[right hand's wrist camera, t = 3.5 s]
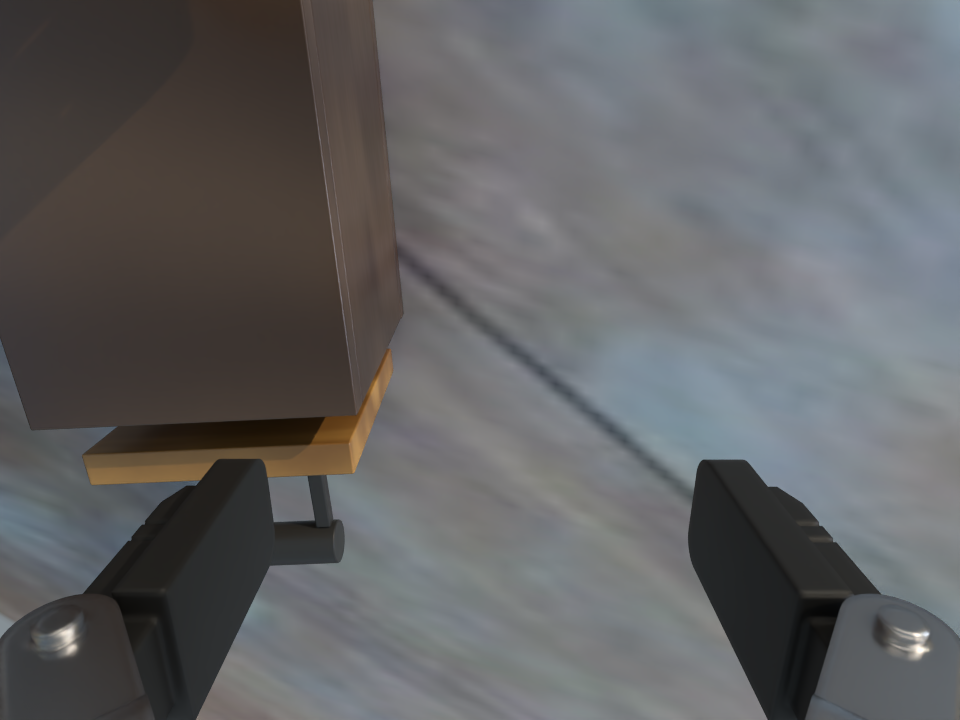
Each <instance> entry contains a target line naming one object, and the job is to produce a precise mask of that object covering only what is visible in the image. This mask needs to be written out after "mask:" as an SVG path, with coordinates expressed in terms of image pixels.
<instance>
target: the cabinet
mask: <svg viewBox="0 0 960 720" xmlns="http://www.w3.org/2000/svg"><path fill="white" fill-rule="evenodd" d="M402 316H403V304H402V294H401V284H400V274H399V263H398V253H397V243H396V233H395V223H394V213H393V203H392V193H391V183H390V173H389V163H388V153H387V142H386V132H385V122H384V112H383V102H382V92H381V82H380V72H379V62H378V52H377V42H376V32H375V22H374V11H373V1H372V0H0V339H1V341H2V344H3V347H4V350H5V353H6V356H7V359H8V362H9V365H10V368H11V371H12V374H13V377H14V380H15V383H16V386H17V389H18V392H19V395H20V398H21V401H22V404H23V407H24V410H25V413H26V416H27V419H28V422H29V425H30V428H31V430H49V429H71V428H92V427H114V426H136V425H157V424H179V423H200V422H222V421H244V420H265V419H287V418H308V417H330V416H352V415H357V414H358V412H359V410H360V407H361V405H362V402H363V401H364V398H365V396H366V394H367V392H368V390H369V387H370V385H371V383H372V381H373V378H374V376H375V374H376V372H377V370H378V367H379V365H380V363H381V361H382V358H383V356H384V354H385V352H386V350H387V347H388V345H389V343H390V341H391V339H392V336H393V334H394V332H395V330H396V327H397V325H398V323H399V321H400V318H402Z"/></svg>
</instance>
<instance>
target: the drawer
mask: <svg viewBox="0 0 960 720" xmlns="http://www.w3.org/2000/svg"><path fill="white" fill-rule="evenodd" d="M392 373H393V363H392V354H391V349H387V350H386V352H385V354H384V356H383V358H382V361H381V363H380V365H379V367H378V370H377V372H376V374H375V376H374V378H373V381H372V383H371V385H370V387H369V390H368V392H367V394H366V396H365V398H364V401H363V402H362V405H361V407H360V410H359V412H358V414H357V415H352V416H330V417H308V418H287V419H265V420H244V421H222V422H200V423H179V424H157V425H136V426H118V427H116V428H115V429H114V430H113V431H111V432H110V433H109V434H108V435H106V436H105V437H104V438H103V439H101V440H100V441H99V442H98V443H96V444H95V445H94V446H93V447H91V448H90V449H89V450H88V451H86V452H85V453H84V454H83V455H82V457H83V461H84V464H85V467H86V470H87V474H88V477H89V480H90V483H91V485H107V484H130V483H153V482H175V481H198V480H201V479H202V478H203V476H204V475H205V474H206V473H207V471H208V470H209V469H210V468H211V466H212V465H213V464H214V463H215V462H216V461H217V460H218V459H261V460H263V462H264V464H265V467H266V471H267V477H289V476H308V481H309V487H310V493H311V499H312V504H313V510H314V516H315V521H293V522H274V529H275V545H274V552H273V557H272V561H271V564H270V566H273V565H298V564H322V563H339V562H340V561H341V559H342V556H343V552H344V539H345V538H344V527H343V524H342V521H341V520H333V514H332V508H331V502H330V496H329V489H328V483H327V477H326V475H335V474H353V473H354V472H355V470H356V467H357V464H358V462H359V459H360V457H361V454H362V451H363V449H364V446H365V443H366V441H367V438H368V436H369V433H370V430H371V428H372V425H373V423H374V420H375V417H376V415H377V412H378V409H379V407H380V404H381V402H382V399H383V396H384V394H385V391H386V389H387V386H388V383H389V381H390V378H391V375H392Z"/></svg>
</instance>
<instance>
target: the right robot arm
mask: <svg viewBox="0 0 960 720" xmlns="http://www.w3.org/2000/svg"><path fill="white" fill-rule="evenodd" d="M274 545H275V529H274V522H273V514H272V507H271V500H270V492H269V485H268V478H267V471H266V467H265V464H264V462H263V460H261V459H218V460H217V461H216V462H215V463H214V464H213V465H212V466H211V468H210V469H209V470H208V471H207V473H206V474H205V475H204V476H203V478H202V479H201V480H200V481H199V483H198V484H197V485H196V486H186V487H184V488H182V489H181V490H179V491H178V492H176V493H175V494H173V495H172V496H170V497H168V498H167V499H165V500H164V501H162V502H161V503H160V504H159V505H158V507H157V508H156V509H155V510H154V511H153V512H152V514H151V515H150V516H149V517H148V518H147V519H146V521H145V525H141V526H140V528H139V529H138V530H137V531H136V532H135V533H134V535H133V536H132V540H131V541H128V542H127V543H126V544H125V545H124V546H123V547H122V549H121V550H120V551H119V552H118V553H117V555H116V556H115V557H114V558H113V559H112V560H111V562H110V563H109V564H108V565H107V566H106V567H105V569H104V570H103V571H102V572H101V573H100V574H99V576H98V577H97V578H96V579H95V580H94V581H93V583H92V584H91V585H90V586H89V587H88V588H87V590H86V591H85V592H84V593H83V594H80V595H73V596H69V597H65V598H62V599H59V600H55V601H53V602H50V603H48V604H45V605H43V606H41V607H39V608H37V609H35V610H33V611H32V612H30V613H29V614H27V615H25V616H24V617H22V618H21V619H20V620H18V621H17V622H16V623H14V624H13V625H12V626H11V627H10V628H9V629H8V630H7V631H6V632H5V633H4V634H3V635H2V637H1V638H0V720H196V718H197V716H198V714H199V712H200V710H201V707H202V705H203V703H204V701H205V699H206V697H207V695H208V693H209V691H210V689H211V687H212V685H213V683H214V680H215V678H216V676H217V674H218V672H219V670H220V668H221V666H222V664H223V662H224V660H225V658H226V656H227V654H228V651H229V649H230V647H231V645H232V643H233V641H234V639H235V637H236V635H237V633H238V631H239V629H240V627H241V624H242V622H243V620H244V618H245V616H246V614H247V612H248V610H249V608H250V606H251V604H252V602H253V600H254V597H255V595H256V593H257V591H258V589H259V587H260V585H261V583H262V581H263V579H264V577H265V575H266V573H267V570H268V568H269V566H270V564H271V561H272V557H273V552H274ZM688 545H689V553H690V558H691V561H692V565H693V567H694V569H695V571H696V573H697V575H698V577H699V579H700V582H701V584H702V586H703V588H704V590H705V592H706V594H707V596H708V598H709V600H710V602H711V604H712V606H713V608H714V610H715V612H716V614H717V616H718V618H719V620H720V623H721V625H722V627H723V629H724V631H725V633H726V635H727V637H728V639H729V641H730V643H731V645H732V647H733V649H734V651H735V653H736V655H737V657H738V659H739V662H740V664H741V666H742V668H743V670H744V672H745V674H746V676H747V678H748V680H749V682H750V684H751V686H752V688H753V690H754V692H755V694H756V696H757V698H758V700H759V703H760V705H761V707H762V709H763V711H764V713H765V715H766V717H767V719H768V720H960V638H959V637H958V635H957V634H956V633H955V632H954V631H953V630H952V629H951V628H950V627H949V626H948V625H947V624H946V623H944V622H943V621H942V620H940V619H939V618H938V617H936V616H935V615H933V614H931V613H930V612H928V611H927V610H925V609H923V608H921V607H919V606H917V605H915V604H912V603H910V602H907V601H905V600H901V599H898V598H895V597H891V596H887V595H881V594H880V592H879V591H878V590H877V589H876V588H875V587H874V585H873V584H872V583H871V582H870V581H869V580H868V579H867V577H866V576H865V575H864V574H863V573H862V572H861V570H860V569H859V568H858V567H857V566H856V565H855V563H854V562H853V561H852V560H851V559H850V558H849V556H848V555H847V554H846V553H845V552H844V551H843V550H842V548H841V547H840V546H839V545H838V544H837V543H836V542H833V538H832V537H831V536H830V534H829V533H828V532H827V531H826V530H825V529H824V528H823V526H819V522H818V521H817V519H816V518H815V517H814V516H813V515H812V514H811V512H810V511H809V510H808V509H807V508H806V507H805V505H804V504H803V503H801V502H800V501H798V500H797V499H795V498H794V497H792V496H790V495H789V494H787V493H786V492H784V491H783V490H781V489H779V488H778V487H768V486H767V485H766V484H765V483H764V482H763V480H762V479H761V478H760V477H759V475H758V474H757V473H756V472H755V470H754V469H753V468H752V467H751V465H750V464H749V463H748V462H747V461H745V460H702V461H701V462H700V463H699V466H698V469H697V474H696V481H695V488H694V495H693V502H692V509H691V517H690V524H689V532H688Z"/></svg>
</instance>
